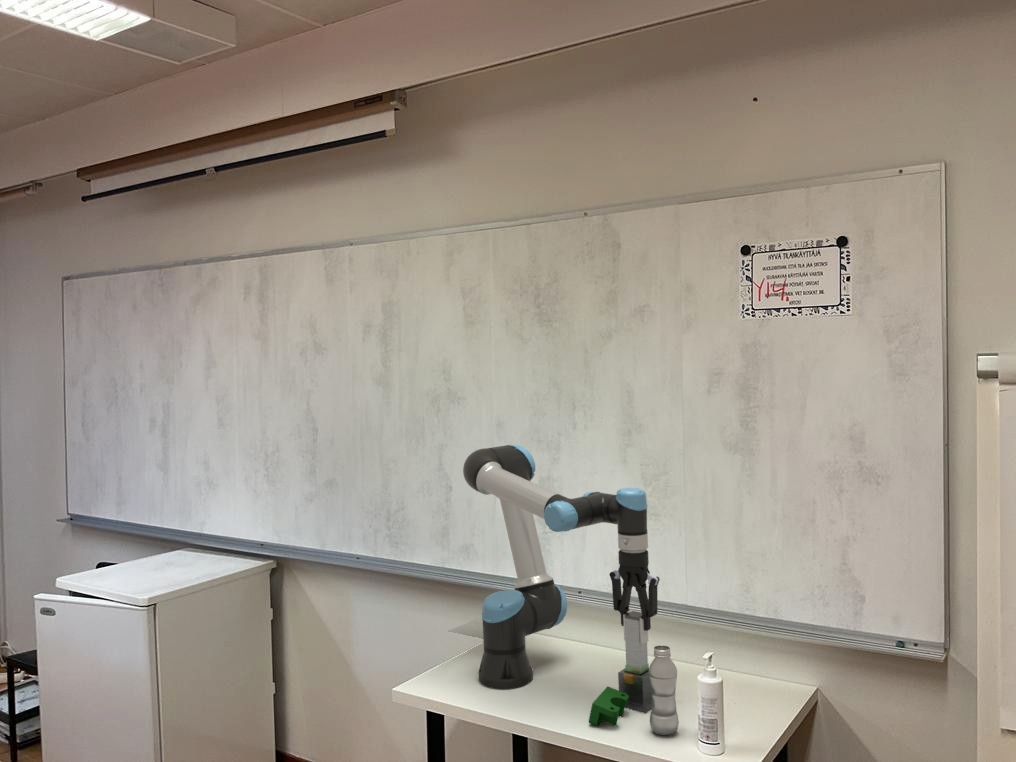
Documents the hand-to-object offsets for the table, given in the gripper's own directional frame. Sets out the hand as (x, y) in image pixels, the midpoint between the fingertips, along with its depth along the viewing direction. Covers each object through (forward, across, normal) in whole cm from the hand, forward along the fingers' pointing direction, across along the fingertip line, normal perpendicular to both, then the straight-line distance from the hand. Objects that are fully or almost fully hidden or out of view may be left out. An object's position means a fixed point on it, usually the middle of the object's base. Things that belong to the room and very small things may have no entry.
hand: (636, 640), depth 211 cm
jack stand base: (+16, 0, 0) cm, 16 cm away
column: (+8, 0, 0) cm, 8 cm away
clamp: (+16, -1, -13) cm, 21 cm away
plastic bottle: (+16, +14, -12) cm, 24 cm away
